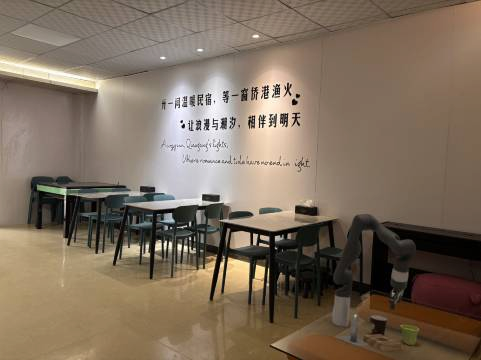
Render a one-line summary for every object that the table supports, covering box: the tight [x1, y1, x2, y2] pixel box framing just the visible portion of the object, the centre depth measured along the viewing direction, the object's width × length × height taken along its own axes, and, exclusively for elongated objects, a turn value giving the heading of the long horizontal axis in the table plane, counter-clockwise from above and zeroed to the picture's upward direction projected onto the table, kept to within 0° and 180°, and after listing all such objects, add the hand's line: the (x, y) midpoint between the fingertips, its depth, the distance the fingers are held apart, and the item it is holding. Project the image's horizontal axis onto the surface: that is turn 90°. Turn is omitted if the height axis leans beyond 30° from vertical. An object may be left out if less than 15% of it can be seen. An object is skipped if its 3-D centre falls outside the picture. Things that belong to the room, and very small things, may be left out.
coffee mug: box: [369, 315, 388, 336], centre depth 217 cm, size 12×9×10 cm
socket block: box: [363, 334, 402, 352], centre depth 198 cm, size 14×12×4 cm
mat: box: [337, 335, 371, 347], centre depth 202 cm, size 14×10×1 cm
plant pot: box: [400, 324, 420, 346], centre depth 207 cm, size 9×9×9 cm
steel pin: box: [350, 313, 359, 342], centre depth 201 cm, size 3×3×14 cm
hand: (395, 305), depth 193 cm, fingers open, 8 cm apart
